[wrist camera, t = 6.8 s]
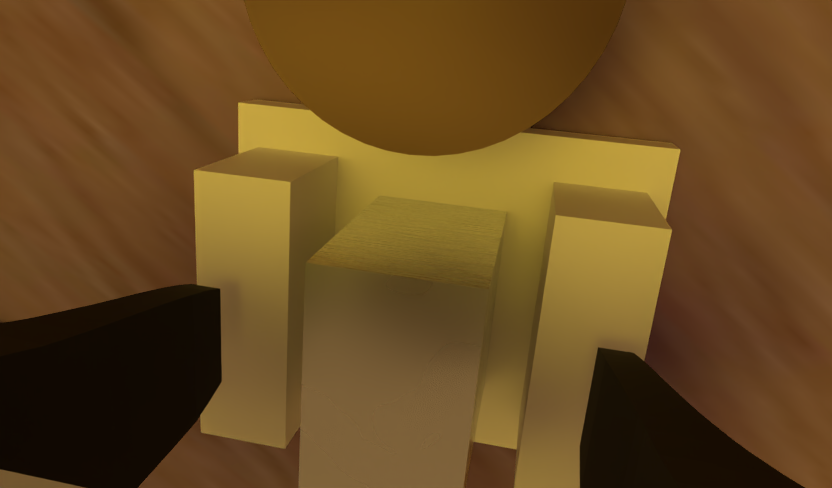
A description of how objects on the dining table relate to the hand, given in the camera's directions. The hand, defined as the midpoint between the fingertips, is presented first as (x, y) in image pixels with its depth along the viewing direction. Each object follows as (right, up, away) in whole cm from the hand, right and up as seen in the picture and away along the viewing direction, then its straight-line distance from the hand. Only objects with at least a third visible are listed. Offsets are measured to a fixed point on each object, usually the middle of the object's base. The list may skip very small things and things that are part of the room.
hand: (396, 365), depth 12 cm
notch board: (+1, +1, +5) cm, 5 cm away
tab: (+1, +1, +4) cm, 4 cm away
